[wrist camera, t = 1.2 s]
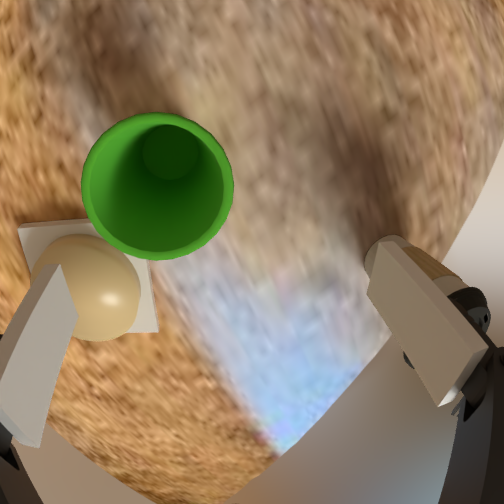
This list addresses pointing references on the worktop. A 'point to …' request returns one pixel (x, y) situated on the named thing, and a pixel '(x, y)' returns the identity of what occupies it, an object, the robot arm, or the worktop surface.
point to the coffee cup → (438, 281)
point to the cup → (157, 186)
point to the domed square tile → (93, 278)
